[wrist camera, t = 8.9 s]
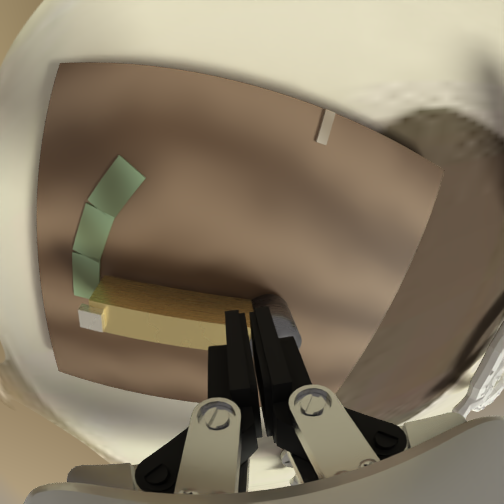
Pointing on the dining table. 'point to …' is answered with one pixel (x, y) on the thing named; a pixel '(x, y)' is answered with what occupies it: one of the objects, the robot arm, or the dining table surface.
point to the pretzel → (485, 378)
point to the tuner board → (218, 216)
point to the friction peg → (174, 313)
